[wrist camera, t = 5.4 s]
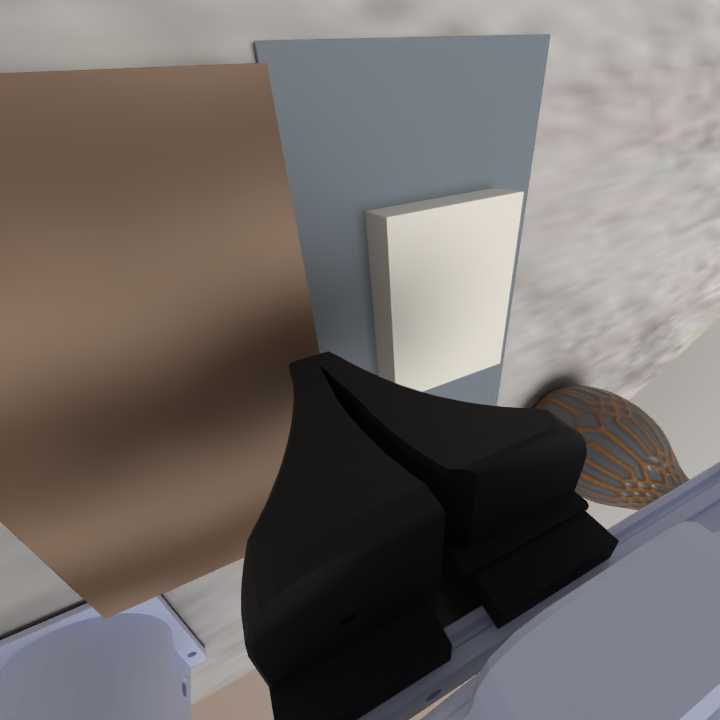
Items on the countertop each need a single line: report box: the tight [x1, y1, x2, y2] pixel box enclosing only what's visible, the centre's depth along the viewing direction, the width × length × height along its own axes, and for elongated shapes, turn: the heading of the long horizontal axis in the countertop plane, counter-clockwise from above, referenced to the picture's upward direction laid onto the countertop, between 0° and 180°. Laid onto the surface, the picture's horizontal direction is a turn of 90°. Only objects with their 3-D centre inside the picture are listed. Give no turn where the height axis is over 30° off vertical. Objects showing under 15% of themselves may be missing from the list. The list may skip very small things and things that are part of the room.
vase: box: [533, 386, 689, 510], centre depth 23 cm, size 7×7×9 cm
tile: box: [365, 188, 524, 392], centre depth 16 cm, size 8×6×2 cm
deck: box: [0, 63, 320, 619], centre depth 12 cm, size 16×10×4 cm, turn 7°
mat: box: [253, 34, 550, 406], centre depth 16 cm, size 18×11×1 cm, turn 7°
